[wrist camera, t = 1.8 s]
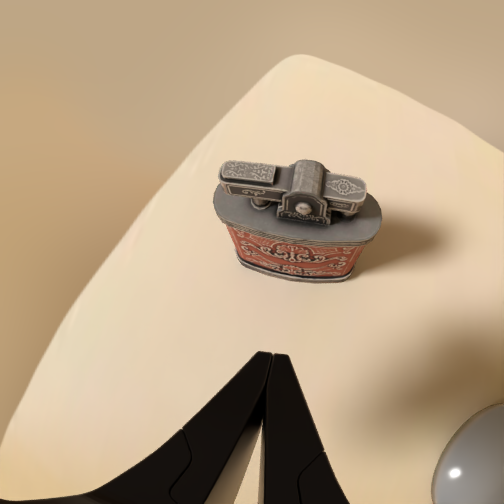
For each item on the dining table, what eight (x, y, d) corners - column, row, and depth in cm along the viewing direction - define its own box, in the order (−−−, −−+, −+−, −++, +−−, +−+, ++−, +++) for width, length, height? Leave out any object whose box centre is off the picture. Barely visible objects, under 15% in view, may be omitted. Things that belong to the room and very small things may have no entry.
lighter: (355, 243, 21) (396, 157, 12) (350, 290, 20) (397, 229, 11) (242, 225, 23) (212, 133, 13) (231, 270, 22) (189, 198, 12)
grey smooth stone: (490, 524, 12) (499, 530, 10) (406, 511, 14) (412, 519, 13) (544, 418, 14) (555, 419, 13) (472, 388, 17) (483, 388, 15)
